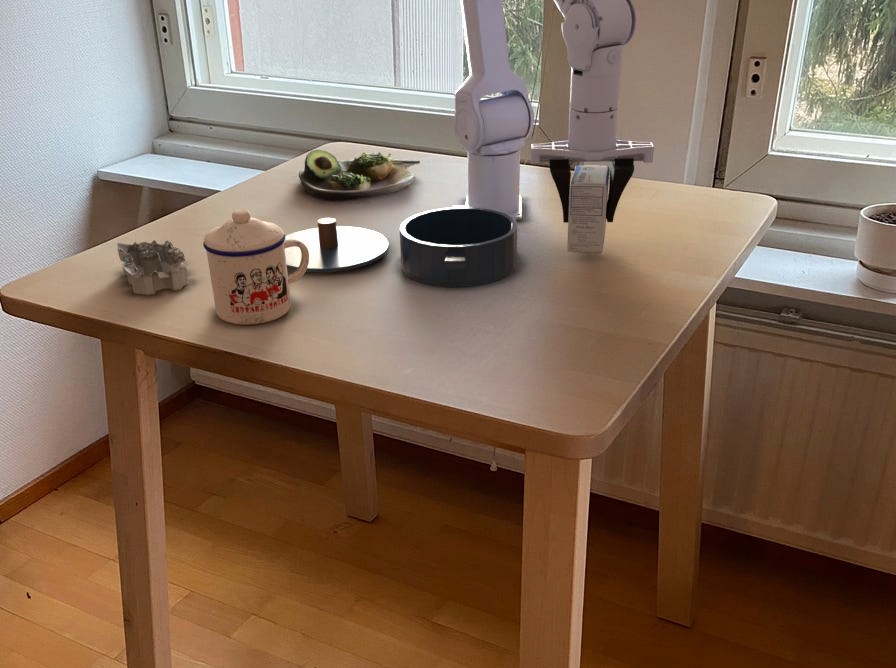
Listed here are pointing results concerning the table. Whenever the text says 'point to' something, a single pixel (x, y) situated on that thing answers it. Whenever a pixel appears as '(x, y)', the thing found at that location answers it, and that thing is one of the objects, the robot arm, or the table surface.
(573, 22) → the robot arm
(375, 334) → the table surface
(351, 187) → the salad plate
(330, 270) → the pot lid
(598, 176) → the medicine box
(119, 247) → the egg carton
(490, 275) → the pot
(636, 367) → the table surface
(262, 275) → the teacup with lid
